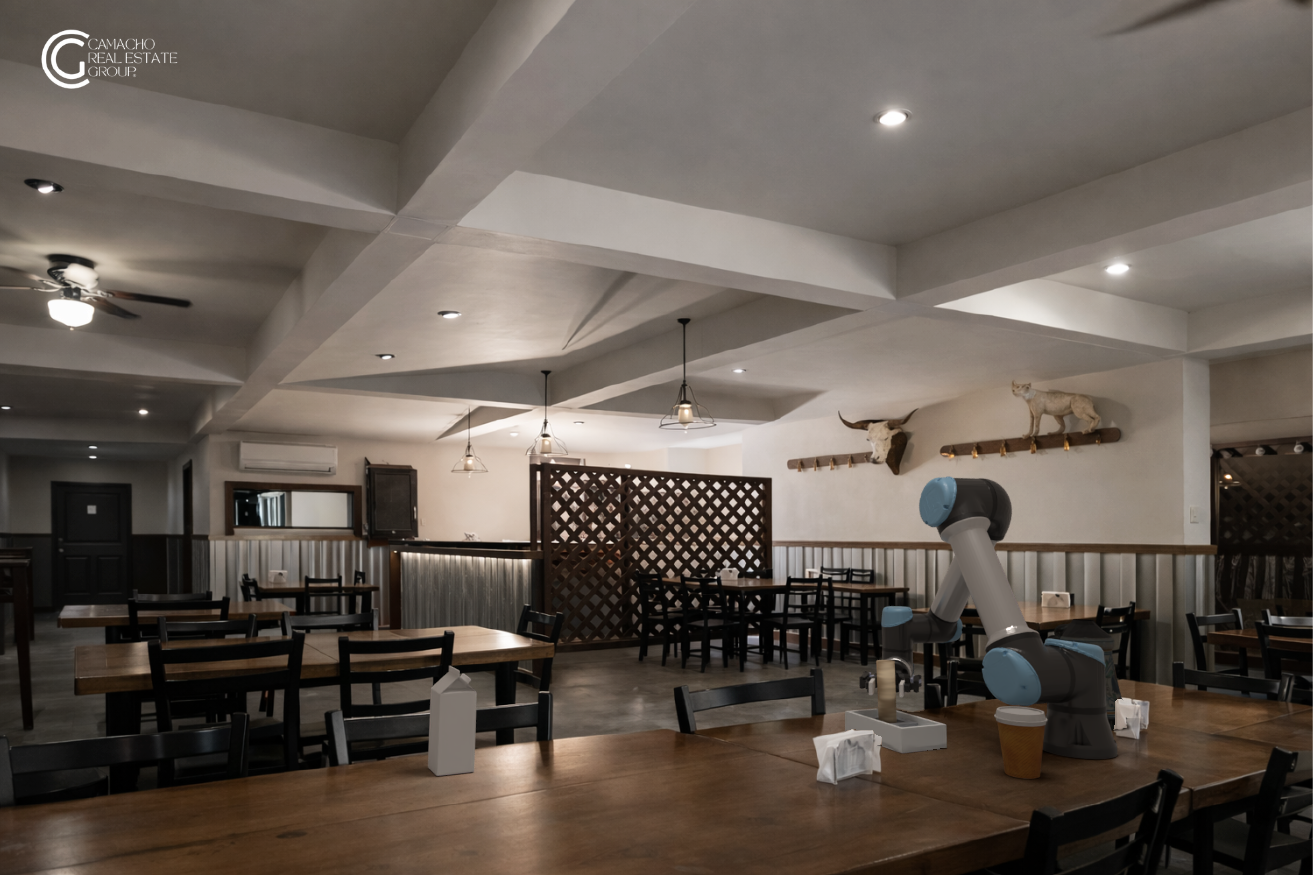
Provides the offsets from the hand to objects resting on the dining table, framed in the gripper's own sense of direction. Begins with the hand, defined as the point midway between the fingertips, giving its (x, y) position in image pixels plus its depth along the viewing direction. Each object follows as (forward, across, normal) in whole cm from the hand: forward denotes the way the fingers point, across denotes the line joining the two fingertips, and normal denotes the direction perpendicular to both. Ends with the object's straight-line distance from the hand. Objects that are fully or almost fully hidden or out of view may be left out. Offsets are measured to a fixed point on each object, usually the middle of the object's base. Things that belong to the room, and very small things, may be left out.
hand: (885, 689), depth 199 cm
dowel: (-5, 0, -10) cm, 12 cm away
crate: (-4, -1, -12) cm, 12 cm away
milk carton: (+54, +76, -12) cm, 94 cm away
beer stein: (-42, -44, -12) cm, 62 cm away
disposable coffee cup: (+16, -27, -12) cm, 34 cm away
